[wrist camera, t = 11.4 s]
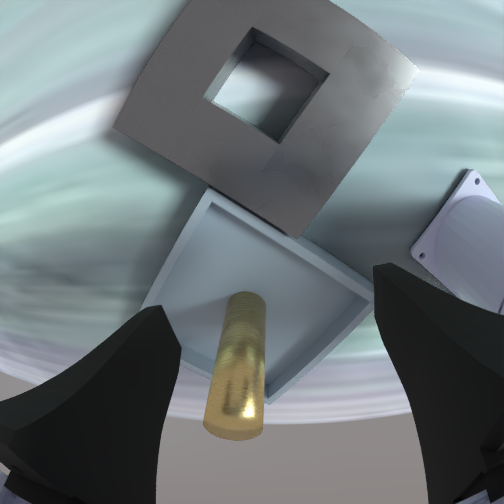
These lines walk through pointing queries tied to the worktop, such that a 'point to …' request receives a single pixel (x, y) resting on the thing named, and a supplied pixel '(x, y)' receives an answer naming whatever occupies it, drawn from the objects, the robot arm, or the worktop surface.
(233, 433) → the cylinder
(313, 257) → the tray
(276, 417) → the worktop surface
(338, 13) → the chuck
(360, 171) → the worktop surface
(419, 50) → the worktop surface
